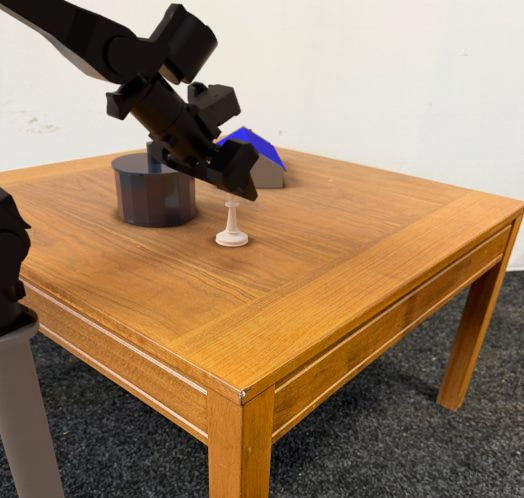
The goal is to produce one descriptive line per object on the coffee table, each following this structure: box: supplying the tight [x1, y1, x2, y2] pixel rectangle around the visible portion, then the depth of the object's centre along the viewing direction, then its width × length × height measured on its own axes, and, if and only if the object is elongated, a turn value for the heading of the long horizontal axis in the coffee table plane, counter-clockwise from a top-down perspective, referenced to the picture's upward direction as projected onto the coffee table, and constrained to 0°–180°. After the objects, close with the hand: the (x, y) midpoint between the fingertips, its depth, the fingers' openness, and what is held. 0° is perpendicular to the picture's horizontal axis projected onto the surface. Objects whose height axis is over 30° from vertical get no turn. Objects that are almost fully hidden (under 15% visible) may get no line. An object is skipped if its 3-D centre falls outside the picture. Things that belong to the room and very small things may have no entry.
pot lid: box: [110, 140, 184, 177], centre depth 87 cm, size 14×14×4 cm
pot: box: [113, 170, 197, 228], centre depth 90 cm, size 13×13×8 cm
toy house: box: [214, 125, 288, 189], centre depth 114 cm, size 22×14×7 cm, turn 6°
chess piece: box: [215, 192, 249, 248], centre depth 81 cm, size 5×5×10 cm
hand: (235, 190), depth 80 cm, fingers open, 9 cm apart
